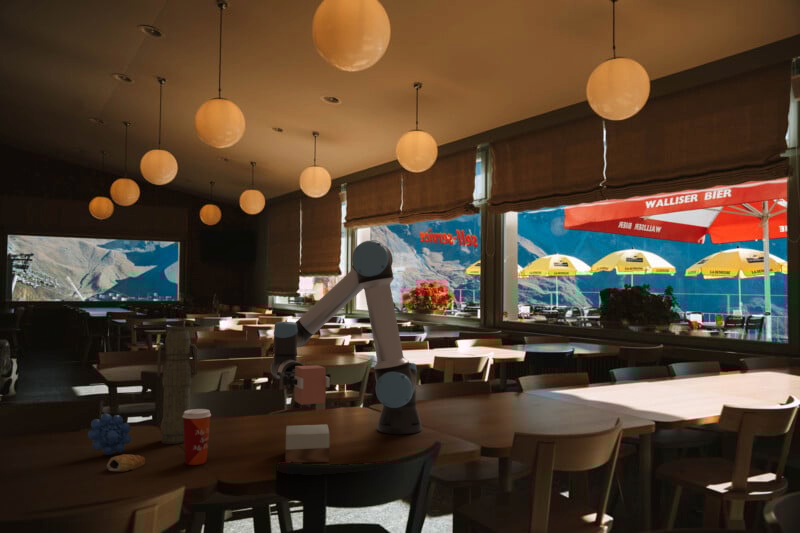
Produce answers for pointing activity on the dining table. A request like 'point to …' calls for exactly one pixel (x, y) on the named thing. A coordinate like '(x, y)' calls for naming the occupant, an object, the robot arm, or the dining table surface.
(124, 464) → the pastry
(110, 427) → the blue knobbly flower
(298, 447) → the tower top
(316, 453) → the tower base
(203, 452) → the paper cup
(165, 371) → the stone statue
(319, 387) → the salmon pink block
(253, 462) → the dining table surface
